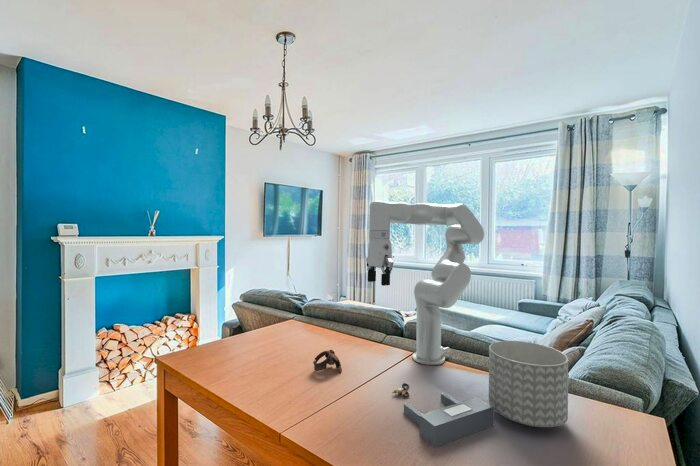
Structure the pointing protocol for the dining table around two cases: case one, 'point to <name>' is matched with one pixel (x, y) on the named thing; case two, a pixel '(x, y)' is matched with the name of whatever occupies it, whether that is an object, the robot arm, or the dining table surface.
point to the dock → (452, 419)
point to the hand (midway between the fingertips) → (378, 283)
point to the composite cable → (402, 391)
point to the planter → (528, 383)
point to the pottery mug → (327, 361)
